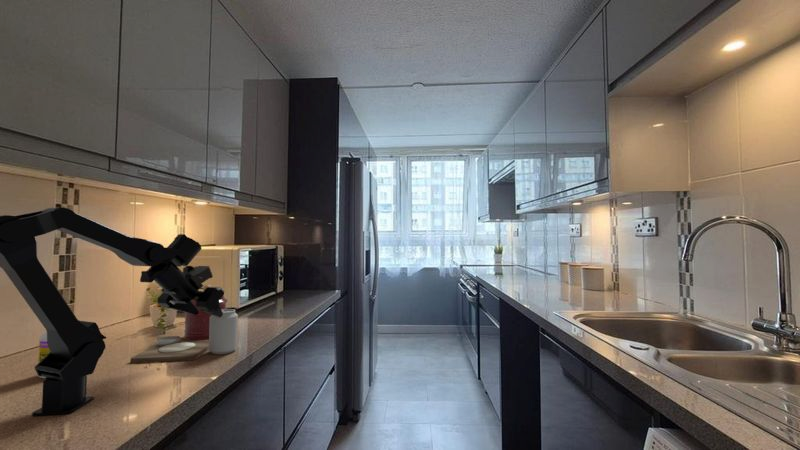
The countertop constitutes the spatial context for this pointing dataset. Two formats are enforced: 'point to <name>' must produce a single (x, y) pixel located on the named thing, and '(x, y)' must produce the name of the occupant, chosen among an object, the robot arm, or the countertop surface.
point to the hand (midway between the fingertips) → (209, 314)
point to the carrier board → (172, 350)
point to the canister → (200, 321)
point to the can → (223, 332)
